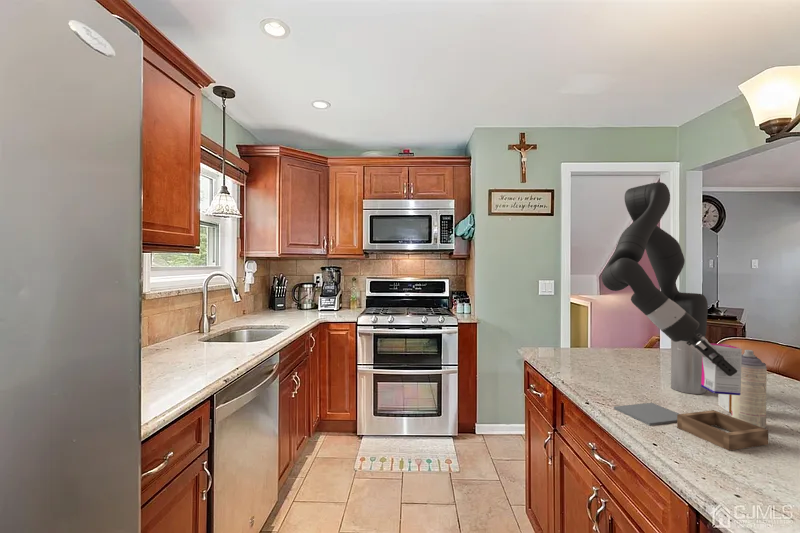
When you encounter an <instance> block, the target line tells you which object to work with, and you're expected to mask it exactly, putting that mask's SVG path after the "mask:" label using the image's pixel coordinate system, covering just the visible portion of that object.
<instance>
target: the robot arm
mask: <svg viewBox="0 0 800 533" xmlns="http://www.w3.org/2000/svg"><path fill="white" fill-rule="evenodd" d="M670 202H671V194H670V190H669V187H668V186H667V184H666V183H664V182H659V181H657V182H651V183H647V184H644V185H643V184H642V185H638V186H634V187H631V188H628V189H627V190H626V191H625V193H624V204H625V207H626V210H627V212H628V214H629V216H630V219H631V220H632V223H630V225H629V226H627V227H626V229H624V230H623V232H622V234H620V237H619V239H618V241H617V244H616V247H615V249H614V252H613V253H612V256H611V257H610V258H609V260H608V262H607V264H606V265H605V267H604V268H603V271H602V273H601V282H602V285H604V287H605V288H606V289H607V290H609V291H612V292H613V291H615V292H618V291H622V290H624V289H626V288H627V287H628V286H629V287H630V289H631V290H632V292H633V294H632V295H631V298H630V301H631V303H632V304H633V305H634V306H635V307H636V308H637V309H638V310H640V311H641V313H643V314H644V315H645V316H646V317H647V318H648V319H649V321H650V322H652V323H653V325H655V326H656V327H657V328H658V329H659V330H660V331H661V332H662V333H663V334H665V335H666V336H667V337H668V338H669V339H670V388H671V389H672V390H675V391H677V392H681V393H686V394H694V395H701V394H702V395H703V394H705V393H706V392H707V391H708V390H707V389H705V388H703V387H701V378H702V356H703V357H704V358H708V359H709V360H711V361H712V363H713V364H715V365H717V366H718V367H719V368H720V369H721V370H722V371H724V372H725V373H726V374H727V375H728V376H732V375H734V374H735V373H737V370H736V369H735V368H734V367H733V366H732V365H730V364H729V363H728V362H727V361H726V360H725V359H724V358H723V356H722V355H720V354H719V353H718V352H717V351H716V348H715V347H714V346H713V345H711V344H710V342H709V341H708V339H707V338H706V334H707V323H708V311H709V310H708V309H709V307H708V306H709V303H708V299H707V298H706V296H705V294H703V293H694V292H693V293H692V292H680V291H679V290H678V287H677V280H678V277H679V276H680V274H681V272H682V270H684V269H683V268H684V266H685V262H686V261H685V256H684V253H683V250H682V248H681V245H680V243H679V241H678V240H677V239H676V238H675V237H674V236H672V235H671V234H669V233H668V232H667V231H666V230H664V229H662V228H661V227H659V226H658V225H659V223H660V222H661V220H662V219H663V217H664V216H665V213H667V209H668V207H669V205H670ZM645 251H646V256H647V258H648V261H649V262H650V265H651V268H652V270H653V272H654V275H655V277H656V280H657V283H658V286H659V288H658V287H656V285H655V284H654V282H653V281H652V279H651V278H650V276H649V275H648V273H647V272H646V270H645V269H644V267H642V265H640V263H639V262H640V261H641V260H642V258H643V257H644V253H645ZM713 353H715V354H717V356H716V357H714V358H713V359H711V358H710V357H709V356H710V355H711V354H713Z"/></svg>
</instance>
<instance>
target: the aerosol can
mask: <svg viewBox="0 0 800 533" xmlns="http://www.w3.org/2000/svg"><path fill="white" fill-rule="evenodd" d="M766 364H767V363H765V362H762V360H761V358H759V357H758V356H756V355H755V354H754V350H751V349H744V353H742V360H741V394H740V395H732V409H731V413H730V414H731V415H730V416H731V417H734V418H737V419H739V420H742V421H745V422H748V423H751V424H753V425H756V426H759V427H762V428H765V429H767V379H768V378H767V375H768V374H767V365H766Z"/></svg>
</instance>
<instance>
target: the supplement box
mask: <svg viewBox="0 0 800 533" xmlns="http://www.w3.org/2000/svg"><path fill="white" fill-rule="evenodd" d="M709 343H710V342H709ZM710 344H711V345H713V346H714V347H715V348H716V351H717V352H718V353H719V354H720V355H722V356H723V358H724V359H725V360H726V361H727V362H728V363H729V364H730V365H732V366H733V367H734V368H735V369H736V370H737V373H735V374H734V375H732V376H728V375H727V374H726V373H725V372H724V371H722V370H721V369H720V368H719V367H718V366H717V365H715V364H713V363H712V361H711V360H709V359H708V358H704V357H703V356H702V378H701V387H703V388H705V389H707V391H709V392H711V393H713V394H717V395H718V394H728V395H740V394H741V360H742V355H743V353H742V352H743V349H742V348H740V347H737V346H734V345H730V344H726V343H714V342H713V343H712V342H711V343H710ZM716 356H717V354H715V353H713V354H711V355H710V356H709V357H710V358H711V359H713V358H714V357H716Z"/></svg>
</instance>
